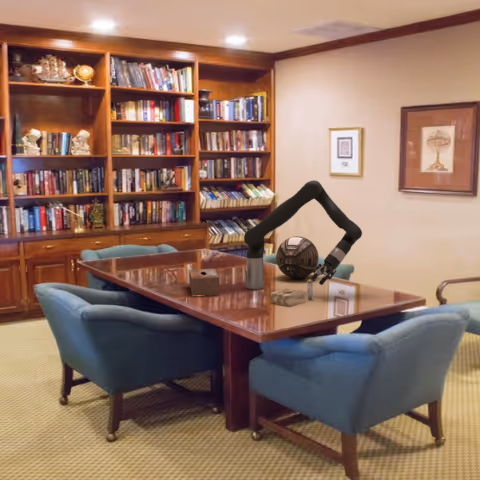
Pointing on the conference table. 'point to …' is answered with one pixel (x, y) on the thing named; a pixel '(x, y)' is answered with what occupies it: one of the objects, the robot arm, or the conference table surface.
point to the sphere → (297, 257)
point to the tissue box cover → (204, 282)
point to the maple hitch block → (287, 297)
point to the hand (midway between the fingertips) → (315, 282)
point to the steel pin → (310, 289)
